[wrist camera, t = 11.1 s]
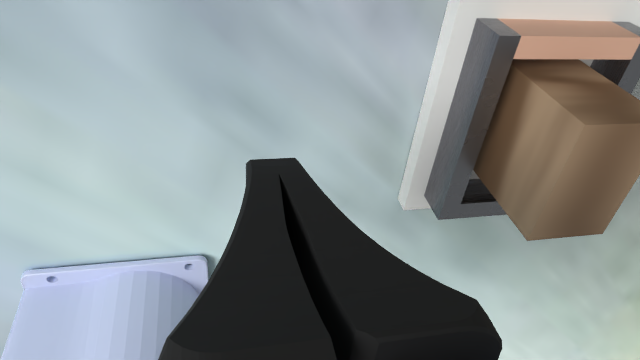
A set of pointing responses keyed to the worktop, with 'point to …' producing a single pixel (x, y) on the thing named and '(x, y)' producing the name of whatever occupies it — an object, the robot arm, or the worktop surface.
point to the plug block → (560, 148)
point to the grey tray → (502, 84)
